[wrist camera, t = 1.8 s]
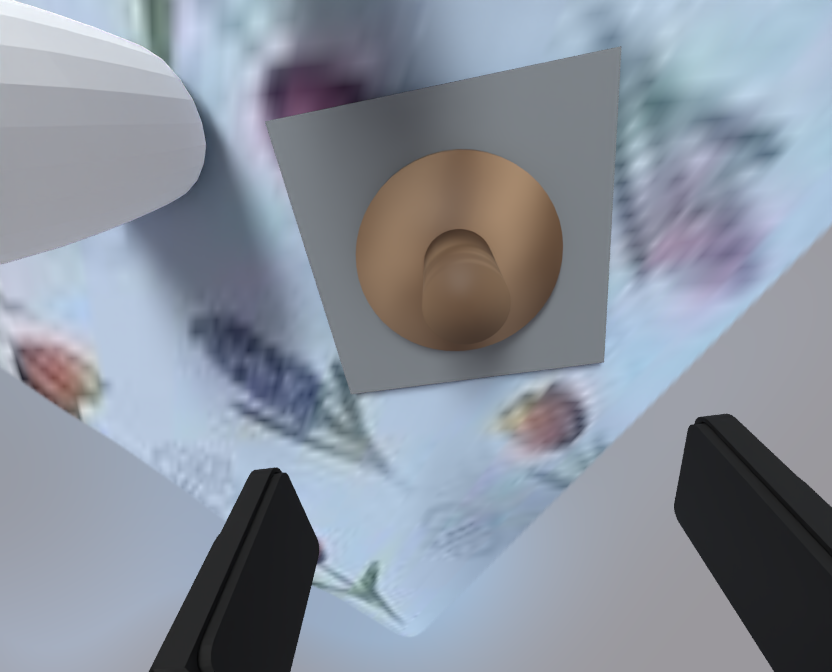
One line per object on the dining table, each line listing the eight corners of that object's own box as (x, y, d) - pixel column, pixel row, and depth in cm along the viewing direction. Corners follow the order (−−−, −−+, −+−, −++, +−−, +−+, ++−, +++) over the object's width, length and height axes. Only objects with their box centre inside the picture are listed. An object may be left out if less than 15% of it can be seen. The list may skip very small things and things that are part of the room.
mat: (614, 48, 20) (621, 46, 19) (599, 356, 28) (603, 362, 27) (270, 121, 22) (264, 121, 21) (352, 387, 30) (351, 394, 29)
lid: (556, 128, 21) (610, 133, 15) (559, 329, 26) (598, 394, 20) (334, 172, 22) (297, 194, 16) (382, 354, 28) (369, 422, 22)
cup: (28, 66, 21) (-570, -9, 8) (163, 2, 19) (-318, -206, 7) (130, 223, 25) (-177, 332, 12) (249, 180, 23) (40, 252, 11)
